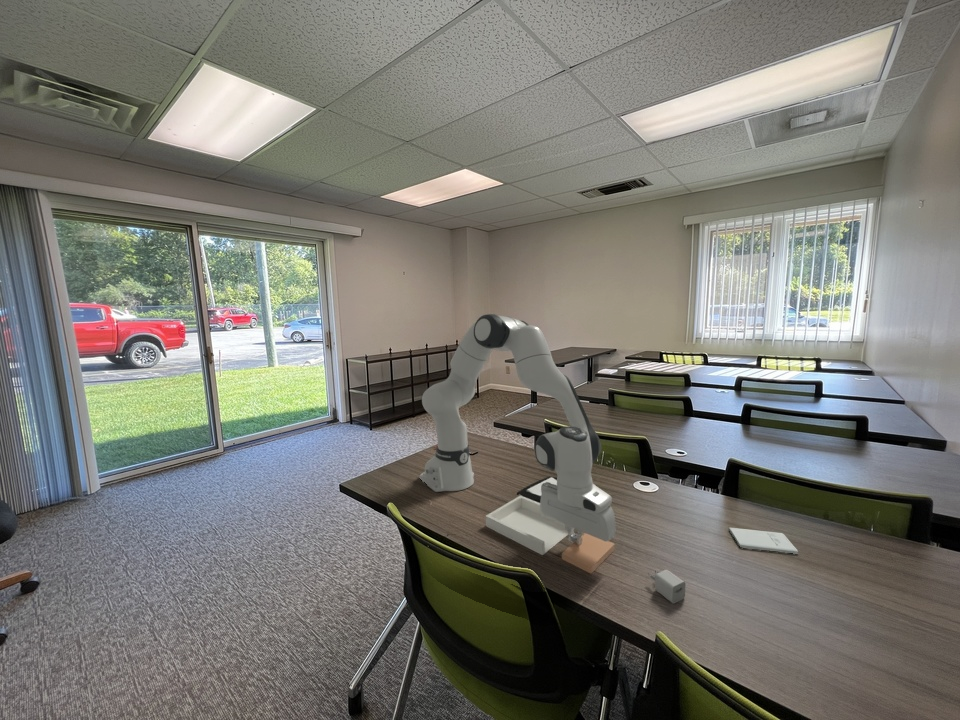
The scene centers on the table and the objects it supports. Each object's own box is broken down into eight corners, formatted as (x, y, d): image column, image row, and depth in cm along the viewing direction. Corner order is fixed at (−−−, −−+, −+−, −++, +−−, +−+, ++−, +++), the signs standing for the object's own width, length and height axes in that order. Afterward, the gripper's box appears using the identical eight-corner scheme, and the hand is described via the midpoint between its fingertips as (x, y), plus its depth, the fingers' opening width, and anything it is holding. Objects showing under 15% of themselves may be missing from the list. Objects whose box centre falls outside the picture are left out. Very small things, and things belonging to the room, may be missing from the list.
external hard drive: (728, 532, 103) (782, 537, 100) (739, 550, 96) (798, 556, 92) (728, 526, 103) (782, 531, 100) (739, 544, 95) (798, 550, 92)
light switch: (549, 472, 142) (580, 480, 131) (549, 479, 142) (581, 488, 132) (512, 490, 129) (543, 500, 119) (513, 498, 129) (544, 509, 119)
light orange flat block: (561, 564, 94) (561, 553, 93) (586, 542, 102) (586, 531, 102) (591, 579, 88) (591, 567, 88) (614, 554, 96) (614, 543, 96)
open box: (486, 528, 109) (485, 515, 109) (520, 507, 121) (520, 495, 120) (542, 558, 95) (542, 543, 95) (575, 530, 106) (575, 517, 106)
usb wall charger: (671, 604, 79) (672, 587, 78) (645, 583, 85) (645, 567, 84) (685, 598, 80) (685, 580, 80) (658, 577, 87) (658, 561, 86)
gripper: (534, 484, 101) (535, 532, 102) (605, 509, 86) (606, 565, 88) (547, 476, 105) (549, 522, 107) (618, 499, 91) (618, 552, 92)
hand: (575, 542), depth 97 cm, fingers closed, pressing on light orange flat block
